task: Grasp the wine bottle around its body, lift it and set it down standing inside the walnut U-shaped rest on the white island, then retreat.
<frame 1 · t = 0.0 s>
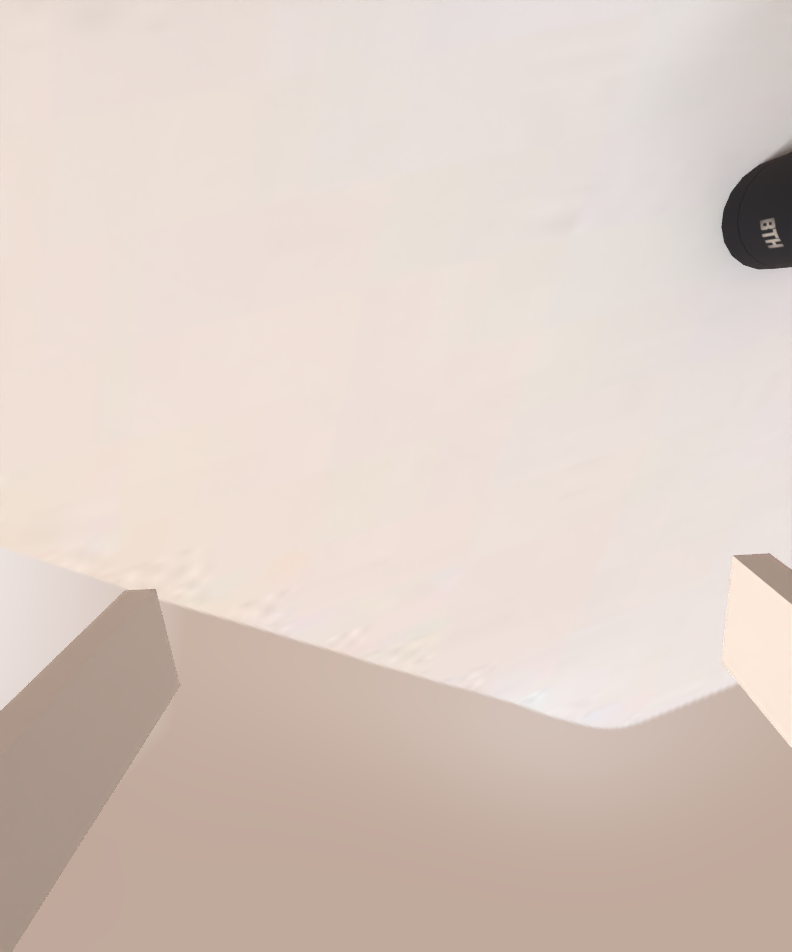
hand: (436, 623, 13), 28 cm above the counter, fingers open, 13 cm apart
wine bottle: (771, 216, 35), on the counter
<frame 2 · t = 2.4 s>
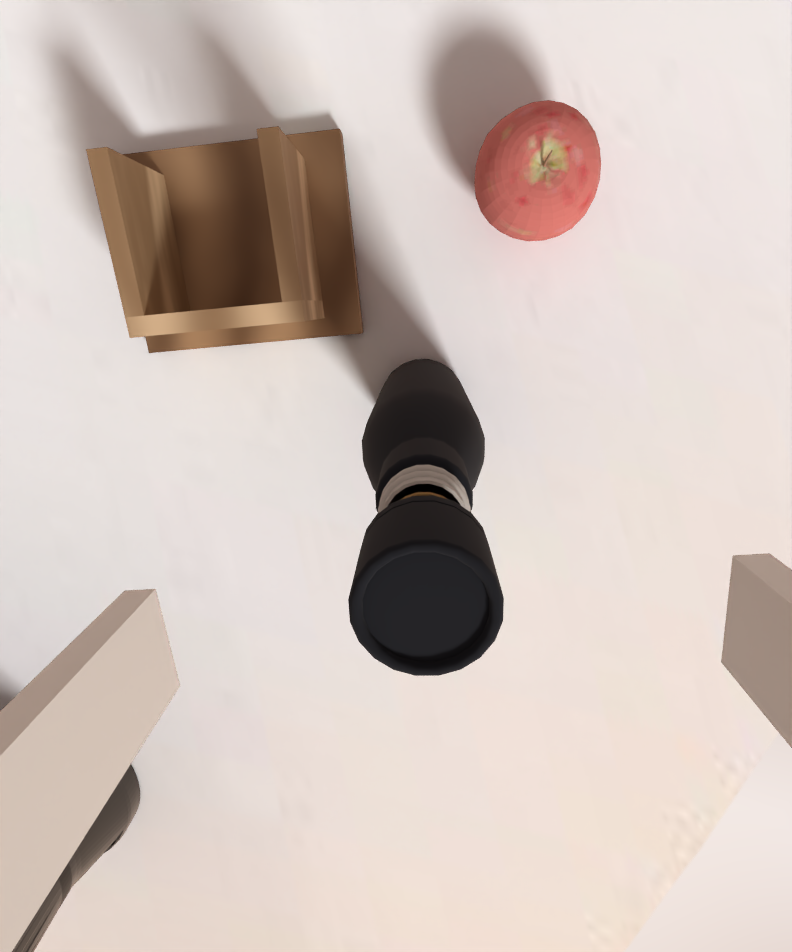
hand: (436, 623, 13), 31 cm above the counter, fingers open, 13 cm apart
apple: (522, 189, 37), on the counter
u rest: (243, 249, 39), on the counter
wine bottle: (422, 400, 42), on the counter
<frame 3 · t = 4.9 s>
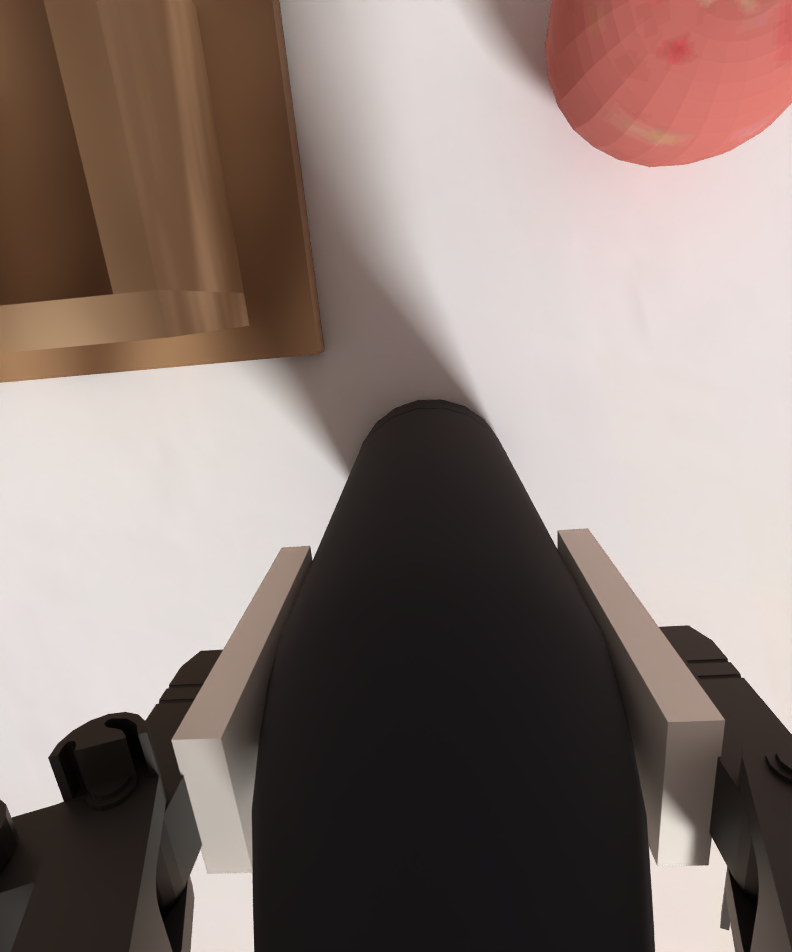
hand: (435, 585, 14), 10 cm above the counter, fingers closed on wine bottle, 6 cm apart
apple: (630, 74, 19), on the counter
u rest: (98, 198, 21), on the counter
wine bottle: (430, 470, 24), on the counter, touching gripper
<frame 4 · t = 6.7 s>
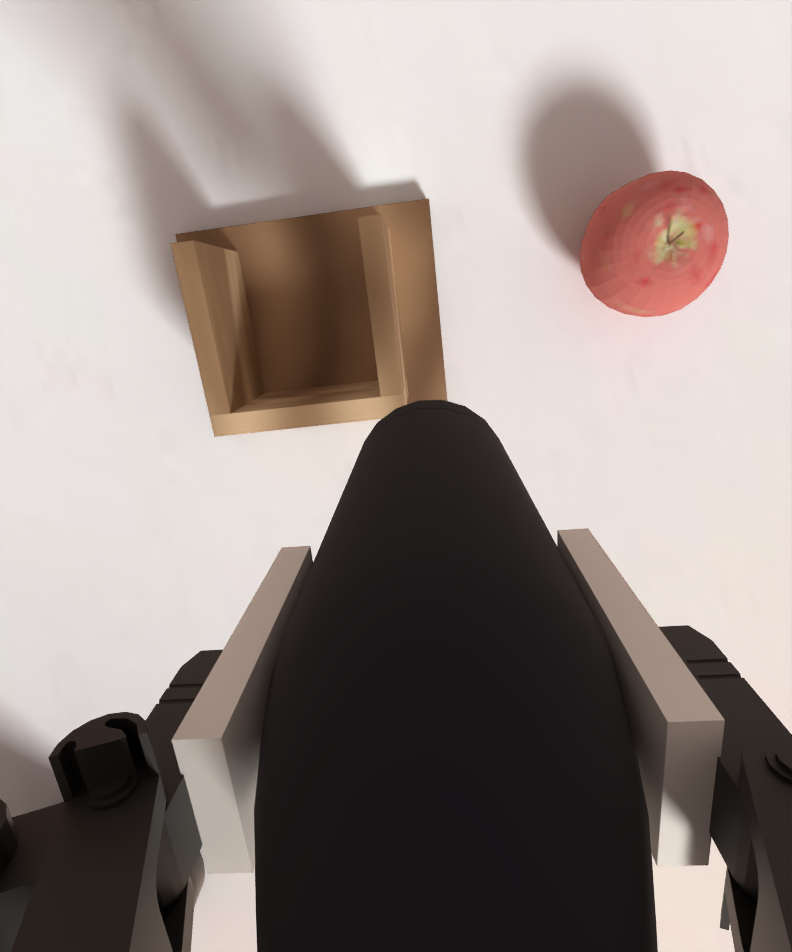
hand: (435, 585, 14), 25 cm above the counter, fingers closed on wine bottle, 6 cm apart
apple: (623, 253, 34), on the counter
u rest: (320, 324, 37), on the counter
wine bottle: (431, 470, 24), point 15 cm above the counter, touching gripper
when the fingers open (13 cm above the counter, at t = 9.0 s): wine bottle drops 2 cm, resting on u rest.
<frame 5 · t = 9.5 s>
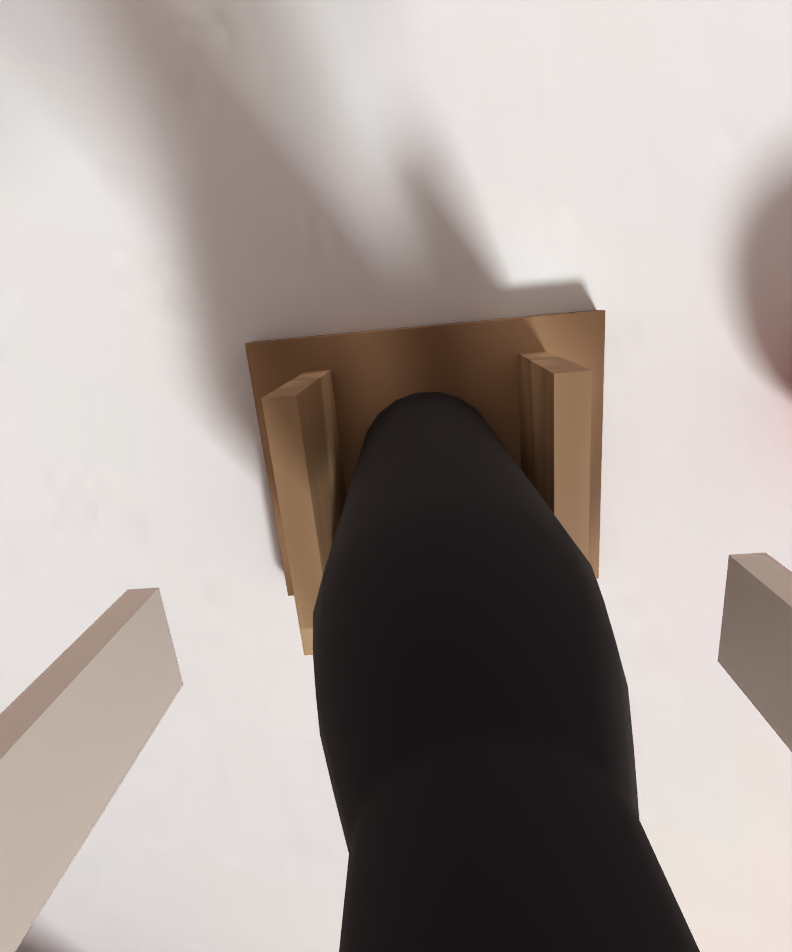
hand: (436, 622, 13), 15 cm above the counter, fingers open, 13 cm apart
u rest: (430, 460, 27), on the counter
wine bottle: (428, 457, 26), point 1 cm above the counter, touching u rest
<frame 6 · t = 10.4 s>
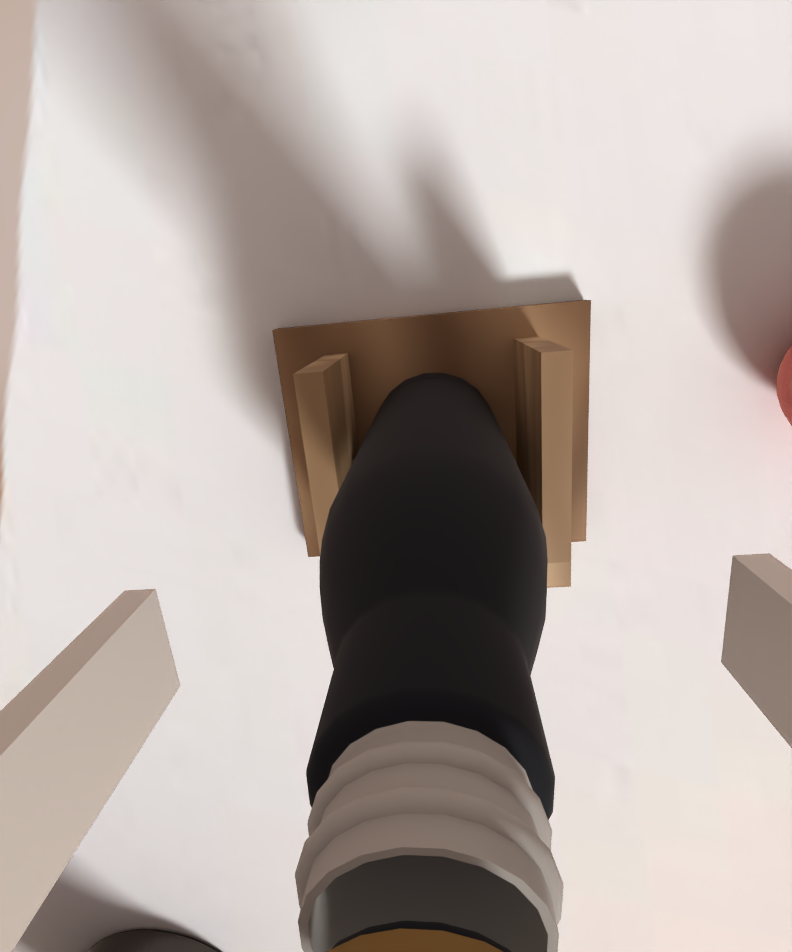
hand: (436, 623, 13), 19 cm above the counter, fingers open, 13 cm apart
u rest: (436, 434, 30), on the counter
wine bottle: (434, 431, 29), point 1 cm above the counter, touching u rest
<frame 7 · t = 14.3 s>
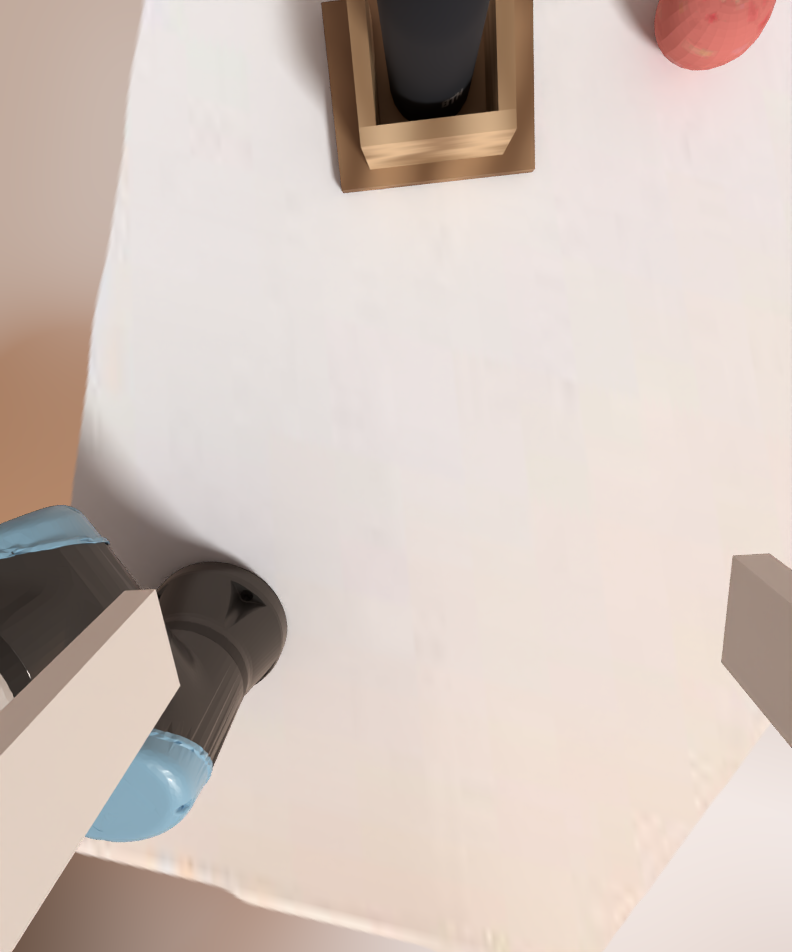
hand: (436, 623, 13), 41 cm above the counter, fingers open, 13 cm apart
apple: (686, 33, 42), on the counter
u rest: (431, 93, 44), on the counter
wine bottle: (430, 82, 43), point 1 cm above the counter, touching u rest
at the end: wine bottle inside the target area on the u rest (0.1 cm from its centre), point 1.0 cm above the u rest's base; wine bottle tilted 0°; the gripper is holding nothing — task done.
